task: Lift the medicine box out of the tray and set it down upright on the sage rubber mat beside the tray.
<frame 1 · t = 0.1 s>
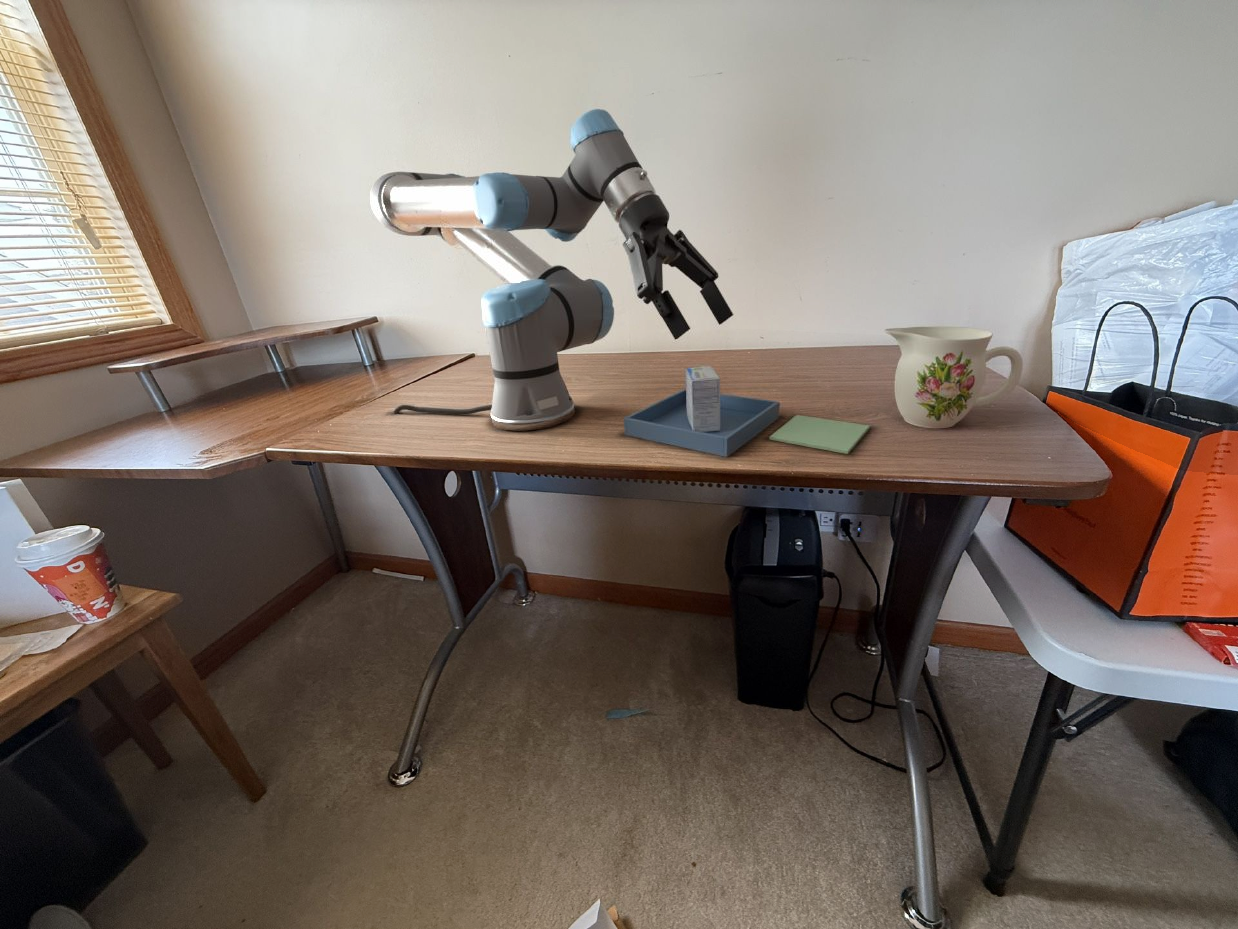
hand: (706, 326, 75), 15 cm above the table, tool tilted 35°, fingers open, 13 cm apart
medicine box: (702, 425, 78), resting on tray
tray: (702, 426, 78), on the table
pitcher: (936, 422, 72), on the table
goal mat: (819, 434, 71), on the table
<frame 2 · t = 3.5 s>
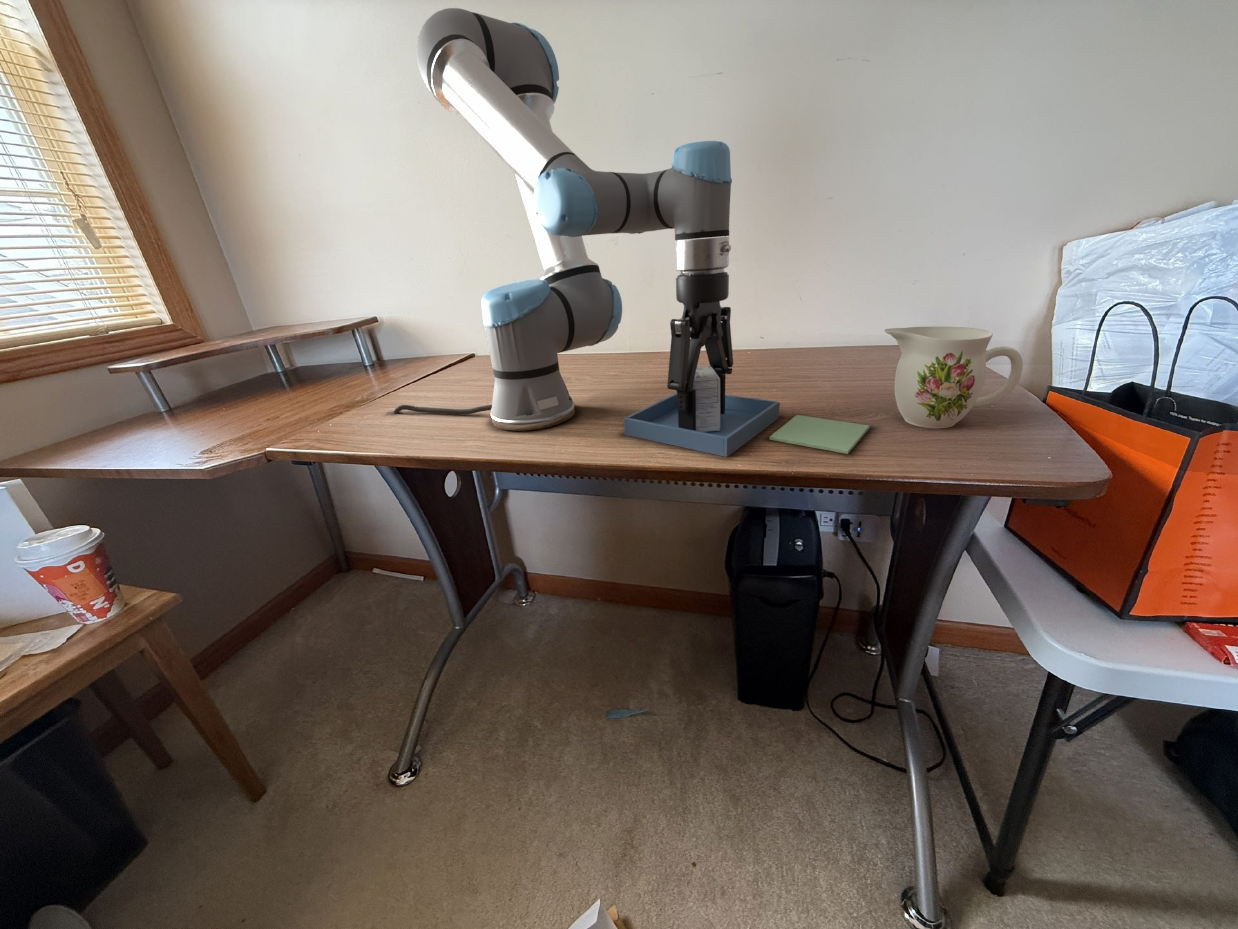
hand: (702, 421, 77), 1 cm above the table, tool pointing down, fingers closed on medicine box, 9 cm apart
medicine box: (702, 425, 78), resting on tray, touching gripper
everything else where it was.
when the fingers open (1 cm above the table, at t = 12.6 s): medicine box stays where it is, resting on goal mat.
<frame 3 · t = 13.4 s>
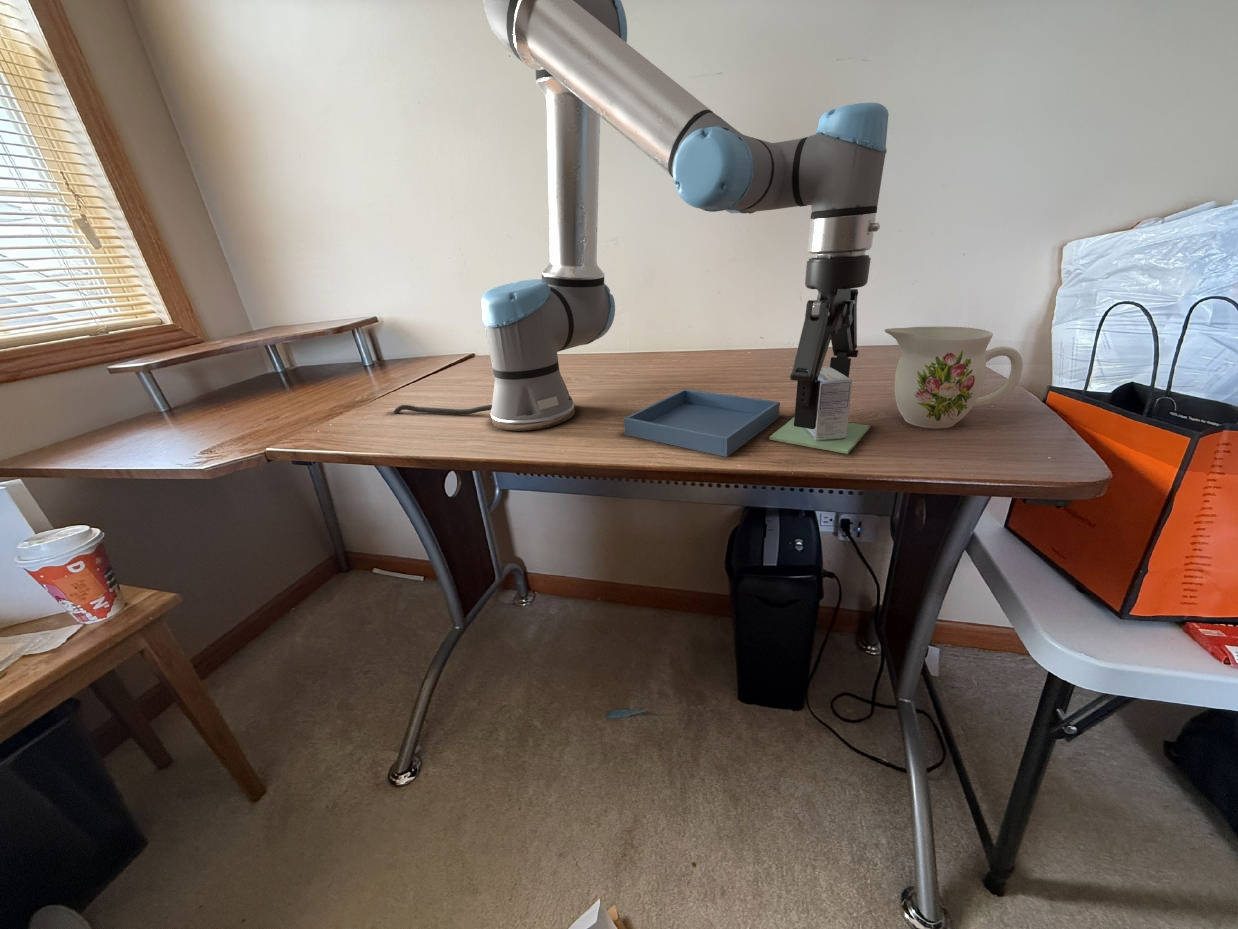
hand: (821, 412, 70), 3 cm above the table, tool pointing down, fingers open, 13 cm apart
medicine box: (820, 432, 71), resting on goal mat
everything else where it was.
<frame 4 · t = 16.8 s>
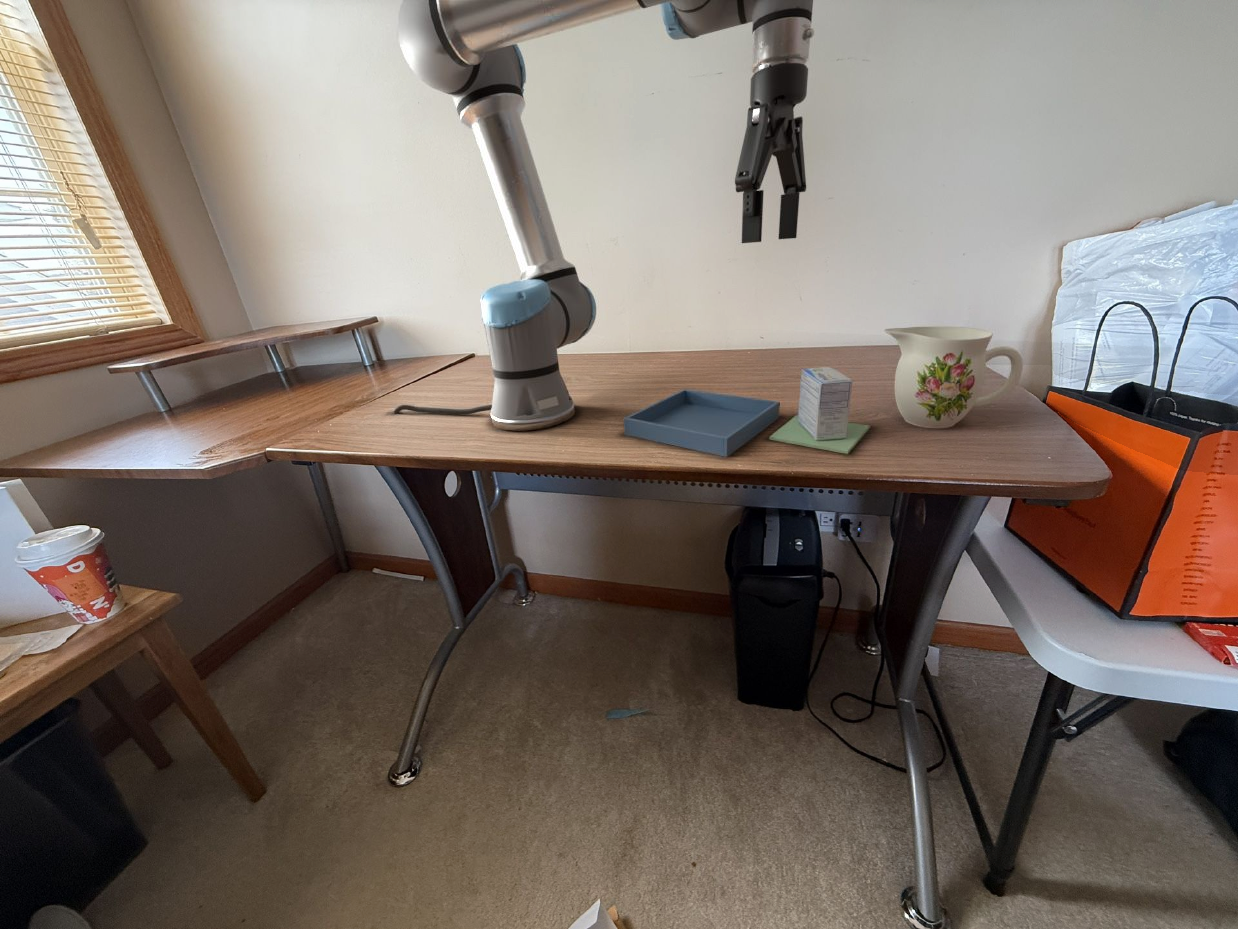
hand: (770, 240, 74), 27 cm above the table, tool pointing down, fingers open, 13 cm apart
nothing on the table moved.
at the end: medicine box inside the target area on the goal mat (0.0 cm from its centre), point 0.3 cm above the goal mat's base; medicine box tilted 0°; medicine box touching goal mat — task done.
